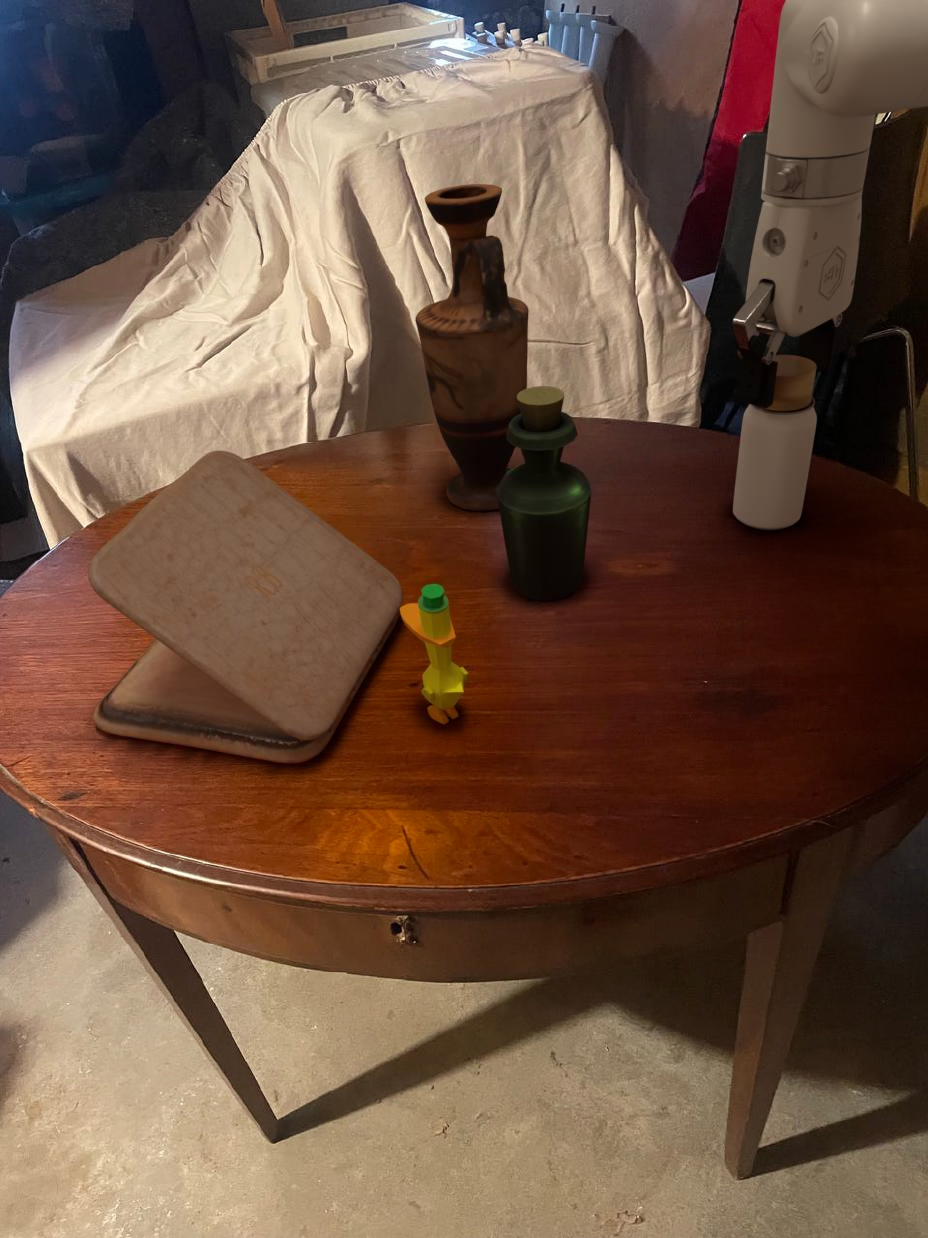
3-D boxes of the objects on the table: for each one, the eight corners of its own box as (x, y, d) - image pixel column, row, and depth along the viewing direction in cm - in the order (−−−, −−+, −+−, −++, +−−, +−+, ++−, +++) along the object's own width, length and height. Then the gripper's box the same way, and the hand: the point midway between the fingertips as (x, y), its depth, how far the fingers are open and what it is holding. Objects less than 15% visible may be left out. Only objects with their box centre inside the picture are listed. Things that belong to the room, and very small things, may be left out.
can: (720, 506, 89) (732, 393, 82) (778, 494, 90) (795, 381, 82) (752, 537, 84) (767, 420, 76) (814, 524, 84) (834, 407, 77)
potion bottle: (603, 597, 78) (606, 405, 67) (515, 615, 77) (503, 423, 66) (575, 551, 84) (573, 369, 74) (493, 566, 83) (479, 385, 73)
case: (321, 778, 63) (274, 596, 53) (79, 734, 69) (-2, 563, 59) (416, 612, 78) (392, 448, 69) (212, 588, 84) (164, 434, 75)
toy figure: (399, 701, 69) (377, 574, 62) (435, 681, 71) (418, 555, 63) (449, 746, 64) (433, 615, 57) (487, 724, 66) (475, 593, 59)
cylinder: (812, 389, 81) (817, 355, 79) (809, 413, 77) (815, 377, 75) (753, 386, 82) (757, 353, 80) (748, 409, 78) (752, 374, 77)
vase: (420, 486, 98) (383, 193, 80) (507, 460, 101) (490, 173, 83) (461, 528, 90) (430, 212, 72) (554, 499, 93) (546, 190, 75)
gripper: (798, 203, 62) (769, 429, 72) (912, 158, 71) (871, 365, 81) (707, 194, 66) (691, 407, 77) (825, 153, 75) (797, 349, 85)
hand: (784, 385), depth 79 cm, fingers open, 9 cm apart
